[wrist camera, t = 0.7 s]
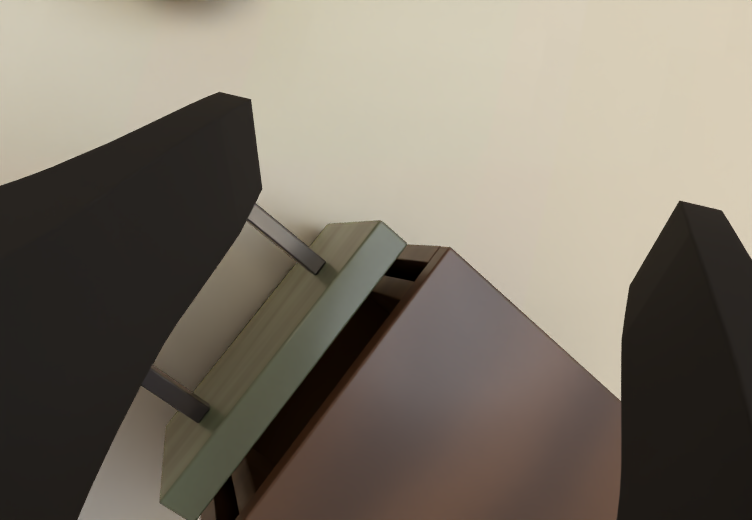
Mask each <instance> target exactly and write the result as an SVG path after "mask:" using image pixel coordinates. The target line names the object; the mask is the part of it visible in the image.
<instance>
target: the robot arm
mask: <svg viewBox="0 0 752 520" xmlns="http://www.w3.org/2000/svg"><path fill="white" fill-rule="evenodd" d="M261 190H262V183H261V176H260V168H259V160H258V152H257V144H256V136H255V128H254V120H253V112H252V104H251V99H247V98H243V97H238V96H234V95H230V94H226V93H221V92H218V93H216V94H213V95H211V96H208V97H206V98H203V99H201V100H199V101H196V102H194V103H192V104H190V105H188V106H186V107H183V108H181V109H179V110H177V111H175V112H173V113H171V114H169V115H167V116H165V117H162V118H160V119H158V120H156V121H154V122H152V123H150V124H148V125H146V126H144V127H141V128H139V129H137V130H135V131H133V132H131V133H129V134H127V135H125V136H122V137H120V138H118V139H116V140H114V141H112V142H110V143H107V144H105V145H103V146H100V147H98V148H96V149H93V150H91V151H89V152H86V153H84V154H82V155H79V156H77V157H75V158H72V159H70V160H68V161H65V162H63V163H61V164H58V165H56V166H54V167H51V168H48V169H46V170H43V171H41V172H38V173H35V174H33V175H30V176H27V177H25V178H22V179H19V180H16V181H13V182H10V183H7V184H4V185H1V186H0V520H77V519H78V517H79V514H80V512H81V510H82V507H83V505H84V503H85V500H86V498H87V496H88V493H89V491H90V489H91V486H92V484H93V482H94V480H95V478H96V476H97V473H98V471H99V469H100V467H101V465H102V463H103V461H104V459H105V456H106V454H107V452H108V450H109V448H110V446H111V444H112V442H113V440H114V437H115V435H116V433H117V431H118V429H119V427H120V425H121V423H122V421H123V419H124V417H125V416H126V414H127V412H128V410H129V408H130V406H131V404H132V402H133V400H134V398H135V396H136V394H137V392H138V390H139V388H140V386H141V384H142V383H143V381H144V379H145V377H146V375H147V374H148V372H149V370H150V368H151V366H152V365H153V363H154V361H155V359H156V357H157V355H158V354H159V352H160V350H161V348H162V346H163V345H164V343H165V341H166V340H167V338H168V337H169V335H170V333H171V332H172V330H173V329H174V327H175V326H176V324H177V323H178V321H179V320H180V318H181V317H182V315H183V314H184V313H185V311H186V310H187V308H188V307H189V306H190V304H191V303H192V301H193V300H194V298H195V297H196V296H197V294H198V293H199V291H200V290H201V289H202V287H203V286H204V284H205V283H206V281H207V280H208V279H209V277H210V276H211V274H212V273H213V272H214V270H215V269H216V267H217V266H218V264H219V263H220V262H221V260H222V259H223V257H224V256H225V254H226V253H227V251H228V250H229V249H230V247H231V246H232V244H233V243H234V241H235V240H236V238H237V237H238V235H239V234H240V232H241V230H242V228H243V226H244V225H245V223H246V221H247V219H248V217H249V215H250V213H251V211H252V209H253V207H254V205H255V203H256V201H257V199H258V196H259V194H260V192H261ZM617 520H752V259H751V258H750V256H749V254H748V253H747V251H746V249H745V248H744V246H743V244H742V243H741V241H740V239H739V238H738V236H737V234H736V233H735V231H734V229H733V228H732V226H731V224H730V223H729V221H728V220H727V218H726V217H725V215H724V213H723V212H722V211H721V210H717V209H713V208H709V207H704V206H700V205H696V204H692V203H687V202H683V201H679V203H678V204H677V206H676V208H675V209H674V211H673V213H672V214H671V216H670V218H669V220H668V221H667V223H666V225H665V226H664V228H663V230H662V231H661V233H660V235H659V237H658V238H657V240H656V242H655V243H654V245H653V247H652V249H651V250H650V252H649V254H648V255H647V257H646V259H645V260H644V262H643V264H642V266H641V267H640V269H639V271H638V272H637V274H636V276H635V278H634V279H633V281H632V283H631V284H630V286H629V293H628V299H627V305H626V312H625V319H624V326H623V334H622V351H621V479H620V495H619V504H618V513H617Z"/></svg>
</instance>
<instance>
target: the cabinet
mask: <svg viewBox="0 0 752 520" xmlns="http://www.w3.org/2000/svg"><path fill="white" fill-rule="evenodd" d="M385 276H390V277H394V278H399V279H404V280H409V281H413V282H414V283H413V284H412V286H411V287H410V288H409V290H408V291H407V292H406V293H405V295H404V296H403V297H402V299H401V300H400V301H399V303H398V304H397V305H396V307H395V308H394V309H393V311H392V312H391V313H390V315H389V316H388V317H387V319H386V320H385V321H384V323H383V324H382V325H381V327H380V328H379V329H378V331H377V332H376V333H375V335H374V336H373V337H372V339H371V340H370V341H369V343H368V344H367V345H366V347H365V348H364V349H363V351H362V352H361V353H360V355H359V356H358V357H357V359H356V360H355V361H354V363H353V364H352V365H351V366H350V368H349V369H348V370H347V372H346V373H345V374H344V376H343V377H342V378H341V380H340V381H339V382H338V384H337V385H336V386H335V388H334V389H333V390H332V392H331V393H330V394H329V396H328V397H327V398H326V400H325V401H324V402H323V404H322V405H321V406H320V408H319V409H318V410H317V412H316V413H315V414H314V416H313V417H312V418H311V420H310V421H309V422H308V424H307V425H306V426H305V428H304V429H303V430H302V432H301V433H300V434H299V435H298V437H297V438H296V439H295V441H294V442H293V443H292V445H291V446H290V447H289V449H288V450H287V451H286V453H285V454H284V455H283V457H282V458H281V459H280V461H279V462H278V463H277V465H276V466H275V467H274V469H273V470H272V471H271V473H270V474H269V475H268V477H267V478H266V479H265V481H264V482H263V483H262V485H261V486H260V487H259V489H258V490H257V491H256V493H255V494H254V495H253V497H252V498H251V499H250V501H249V502H248V503H247V504H246V506H245V507H244V508H243V510H242V511H241V512H240V514H239V510H238V505H237V500H236V495H235V490H234V486H233V481H232V476H230V477H229V478H228V480H227V481H226V482H225V484H224V485H223V486H222V487H221V489H220V490H219V491H218V493H217V494H216V495H215V497H214V498H213V499H212V500H211V502H210V503H209V504H208V506H207V507H206V508H205V510H204V511H203V512H202V514H201V520H617V513H618V504H619V495H620V479H621V401H620V400H619V399H618V398H617V397H616V396H615V395H613V394H612V393H611V392H610V391H609V390H608V389H607V388H606V387H605V386H603V385H602V384H601V383H600V382H599V381H598V380H597V379H596V378H595V377H593V376H592V375H591V374H590V373H589V372H588V371H587V370H586V369H585V368H584V367H582V366H581V365H580V364H579V363H578V362H577V361H576V360H575V359H574V358H572V357H571V356H570V355H569V354H568V353H567V352H566V351H565V350H564V349H563V348H561V347H560V346H559V345H558V344H557V343H556V342H555V341H554V340H553V339H551V338H550V337H549V336H548V335H547V334H546V333H545V332H544V331H543V330H542V329H540V328H539V327H538V326H537V325H536V324H535V323H534V322H533V321H532V320H530V319H529V318H528V317H527V316H526V315H525V314H524V313H523V312H522V311H521V310H519V309H518V308H517V307H516V306H515V305H514V304H513V303H512V302H511V301H509V300H508V299H507V298H506V297H505V296H504V295H503V294H502V293H501V292H500V291H498V290H497V289H496V288H495V287H494V286H493V285H492V284H491V283H490V282H488V281H487V280H486V279H485V278H484V277H483V276H482V275H481V274H480V273H478V272H477V271H476V270H475V269H474V268H473V267H472V266H471V265H470V264H469V263H467V262H466V261H465V260H464V259H463V258H462V257H461V256H460V255H459V254H457V253H456V252H455V251H454V250H453V249H452V248H451V247H441V246H427V245H407V246H406V247H405V249H404V250H403V251H402V253H401V254H400V255H399V256H398V258H397V259H396V260H395V262H394V263H393V264H392V266H391V267H390V268H389V270H388V271H387V272H386V273H385Z"/></svg>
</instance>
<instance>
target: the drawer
mask: <svg viewBox="0 0 752 520" xmlns="http://www.w3.org/2000/svg"><path fill="white" fill-rule="evenodd" d="M247 222H248V223H249V224H251V225H252V226H253V227H254V228H255V229H257V230H258V231H259V232H260V233H262V234H263V235H264V236H265V237H267V238H268V239H269V240H270V241H271V242H273V243H274V244H275V245H276V246H278V247H279V248H280V249H281V250H283V251H284V252H285V253H286V254H288V255H289V256H290V257H291V258H292V259H294V260H295V261H296V262H297V263H296V264H295V266H294V267H293V268H292V269H291V271H290V272H289V273H288V274H287V276H286V277H285V278H284V279H283V281H282V282H281V283H280V284H279V286H278V287H277V288H276V289H275V291H274V292H273V293H272V294H271V296H270V297H269V298H268V299H267V301H266V302H265V303H264V304H263V305H262V307H261V308H260V309H259V310H258V312H257V313H256V314H255V315H254V317H253V318H252V319H251V320H250V322H249V323H248V324H247V325H246V327H245V328H244V329H243V330H242V332H241V333H240V334H239V335H238V337H237V338H236V339H235V340H234V342H233V343H232V344H231V345H230V347H229V348H228V349H227V350H226V352H225V353H224V354H223V355H222V357H221V358H220V359H219V360H218V362H217V363H216V364H215V365H214V367H213V368H212V369H211V370H210V372H209V373H208V374H207V375H206V377H205V378H204V379H203V380H202V382H201V383H200V384H199V385H198V387H197V388H196V389H195V390H194V392H191V391H190V390H189V389H187V388H186V387H184V386H183V385H181V384H180V383H178V382H177V381H175V380H174V379H173V378H171V377H170V376H168V375H167V374H165V373H164V372H162V371H161V370H159V369H158V368H156V367H155V366H154V365H152V366H151V368H150V370H149V372H148V374H147V375H146V377H145V379H144V381H143V383H142V384H141V386H143V387H144V388H146V389H147V390H149V391H150V392H151V393H153V394H154V395H156V396H157V397H159V398H160V399H162V400H163V401H165V402H166V403H168V404H169V405H171V406H172V407H174V408H175V409H177V410H178V412H177V413H176V414H175V415H174V417H173V418H172V419H171V420H170V422H169V423H168V424H167V425H166V428H165V441H164V453H163V465H162V477H161V490H160V504H162V505H163V506H165V507H167V508H168V509H170V510H172V511H173V512H175V513H177V514H178V515H180V516H181V517H183V518H185V519H186V520H197V519H198V517H199V516H200V515H201V514H202V512H203V511H204V510H205V508H206V507H207V506H208V504H209V503H210V502H211V500H212V499H213V498H214V497H215V495H216V494H217V493H218V491H219V490H220V489H221V487H222V486H223V485H224V484H225V482H226V481H227V480H228V478H229V477H230V476H232V481H233V486H234V490H235V495H236V500H237V505H238V510H239V514H240V512H241V511H242V510H243V508H244V507H245V506H246V504H247V503H248V502H249V501H250V499H251V498H252V497H253V495H254V494H255V493H256V491H257V490H258V489H259V487H260V486H261V485H262V483H263V482H264V481H265V479H266V478H267V477H268V475H269V474H270V473H271V471H272V470H273V469H274V467H275V466H276V465H277V463H278V462H279V461H280V459H281V458H282V457H283V455H284V454H285V453H286V451H287V450H288V449H289V447H290V446H291V445H292V443H293V442H294V441H295V439H296V438H297V437H298V435H299V434H300V433H301V432H302V430H303V429H304V428H305V426H306V425H307V424H308V422H309V421H310V420H311V418H312V417H313V416H314V414H315V413H316V412H317V410H318V409H319V408H320V406H321V405H322V404H323V402H324V401H325V400H326V398H327V397H328V396H329V394H330V393H331V392H332V390H333V389H334V388H335V386H336V385H337V384H338V382H339V381H340V380H341V378H342V377H343V376H344V374H345V373H346V372H347V370H348V369H349V368H350V366H351V365H352V364H353V363H354V361H355V360H356V359H357V357H358V356H359V355H360V353H361V352H362V351H363V349H364V348H365V347H366V345H367V344H368V343H369V341H370V340H371V339H372V337H373V336H374V335H375V333H376V332H377V331H378V329H379V328H380V327H381V325H382V324H383V323H384V321H385V320H386V319H387V317H388V316H389V315H390V313H391V312H392V311H393V309H394V308H395V307H396V305H397V304H398V303H399V301H400V300H401V299H402V297H403V296H404V295H405V293H406V292H407V291H408V290H409V288H410V287H411V286H412V284H413V283H414V282H413V281H409V280H404V279H399V278H394V277H390V276H385V273H386V272H387V271H388V270H389V268H390V267H391V266H392V264H393V263H394V262H395V260H396V259H397V258H398V256H399V255H400V254H401V253H402V251H403V250H404V249H405V247H406V246H407V243H406V242H405V241H404V240H403V239H402V238H401V237H399V236H398V235H397V234H396V233H395V232H394V231H393V230H392V229H390V228H389V227H388V226H387V225H386V224H385V223H384V222H382V221H380V220H379V221H363V222H347V223H332V224H327V226H326V227H325V228H324V229H323V231H322V232H321V233H320V234H319V236H318V237H317V238H316V239H315V241H314V242H313V243H312V244H311V246H310V247H308V246H307V245H306V244H304V243H303V242H302V241H301V240H300V239H298V238H297V237H296V236H295V235H294V234H292V233H291V232H290V231H289V230H288V229H286V228H285V227H284V226H283V225H281V224H280V223H279V222H278V221H277V220H275V219H274V218H273V217H272V216H271V215H269V214H268V213H267V212H266V211H264V210H263V209H262V208H261V207H260V206H258V205H257V204H256V203H255V205H254V207H253V209H252V211H251V213H250V215H249V217H248V219H247Z"/></svg>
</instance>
